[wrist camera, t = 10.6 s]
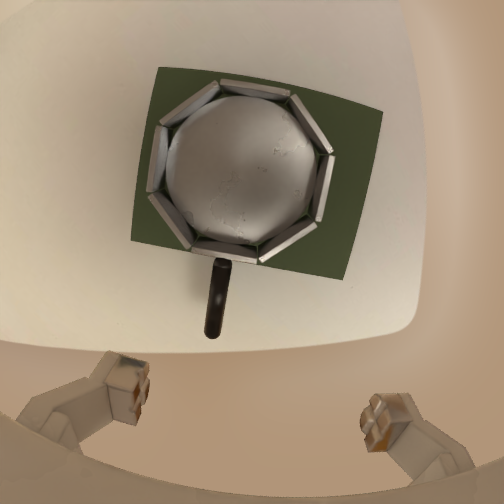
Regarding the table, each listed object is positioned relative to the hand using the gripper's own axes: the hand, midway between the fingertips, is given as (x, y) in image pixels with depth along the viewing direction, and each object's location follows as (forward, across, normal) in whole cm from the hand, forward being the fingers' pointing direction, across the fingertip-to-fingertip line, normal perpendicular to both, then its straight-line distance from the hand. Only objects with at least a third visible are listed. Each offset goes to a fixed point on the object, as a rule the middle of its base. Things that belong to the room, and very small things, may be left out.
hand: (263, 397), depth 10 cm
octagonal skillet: (+18, +3, -2) cm, 18 cm away
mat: (+18, +2, -6) cm, 19 cm away
